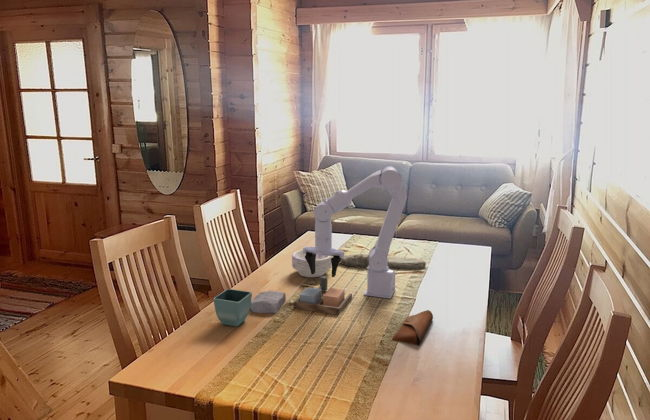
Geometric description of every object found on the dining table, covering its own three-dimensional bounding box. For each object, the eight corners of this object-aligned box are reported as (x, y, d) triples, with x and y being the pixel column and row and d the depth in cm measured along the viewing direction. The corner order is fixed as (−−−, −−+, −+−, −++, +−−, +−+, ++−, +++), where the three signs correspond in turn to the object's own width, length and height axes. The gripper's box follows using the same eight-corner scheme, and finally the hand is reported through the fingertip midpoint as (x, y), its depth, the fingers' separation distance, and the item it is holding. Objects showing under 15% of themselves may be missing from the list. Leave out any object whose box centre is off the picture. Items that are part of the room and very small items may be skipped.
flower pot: (253, 318, 160) (252, 291, 158) (240, 330, 152) (238, 302, 150) (228, 315, 163) (227, 288, 161) (214, 326, 155) (212, 298, 153)
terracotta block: (344, 302, 173) (344, 289, 172) (337, 310, 167) (337, 297, 166) (330, 300, 175) (330, 287, 174) (323, 308, 168) (323, 295, 167)
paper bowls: (338, 270, 204) (338, 251, 202) (320, 283, 190) (319, 262, 189) (304, 265, 211) (304, 246, 209) (284, 276, 197) (284, 256, 196)
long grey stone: (425, 275, 203) (424, 268, 212) (426, 262, 202) (425, 255, 212) (337, 266, 208) (340, 260, 217) (337, 253, 207) (340, 247, 216)
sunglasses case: (405, 315, 162) (417, 300, 159) (424, 329, 160) (436, 314, 158) (390, 340, 146) (402, 324, 143) (411, 356, 144) (424, 339, 142)
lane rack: (352, 298, 176) (352, 292, 175) (338, 314, 163) (338, 308, 162) (309, 293, 181) (309, 287, 180) (293, 308, 168) (293, 301, 168)
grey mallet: (331, 291, 183) (331, 277, 182) (314, 309, 167) (313, 294, 166) (318, 289, 184) (318, 275, 183) (299, 307, 169) (299, 292, 168)
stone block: (249, 317, 166) (278, 314, 164) (246, 303, 165) (275, 299, 163) (260, 304, 177) (288, 301, 175) (257, 291, 176) (285, 287, 174)
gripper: (299, 238, 177) (299, 276, 180) (339, 242, 172) (339, 281, 175) (307, 233, 183) (307, 269, 186) (346, 237, 178) (345, 274, 181)
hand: (323, 274), depth 181 cm, fingers open, 7 cm apart
